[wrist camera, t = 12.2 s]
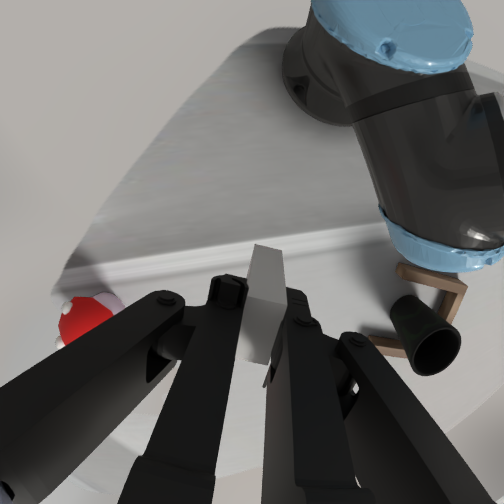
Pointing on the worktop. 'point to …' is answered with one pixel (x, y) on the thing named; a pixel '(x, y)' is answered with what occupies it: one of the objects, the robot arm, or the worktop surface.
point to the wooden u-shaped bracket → (447, 307)
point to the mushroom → (85, 315)
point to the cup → (424, 336)
